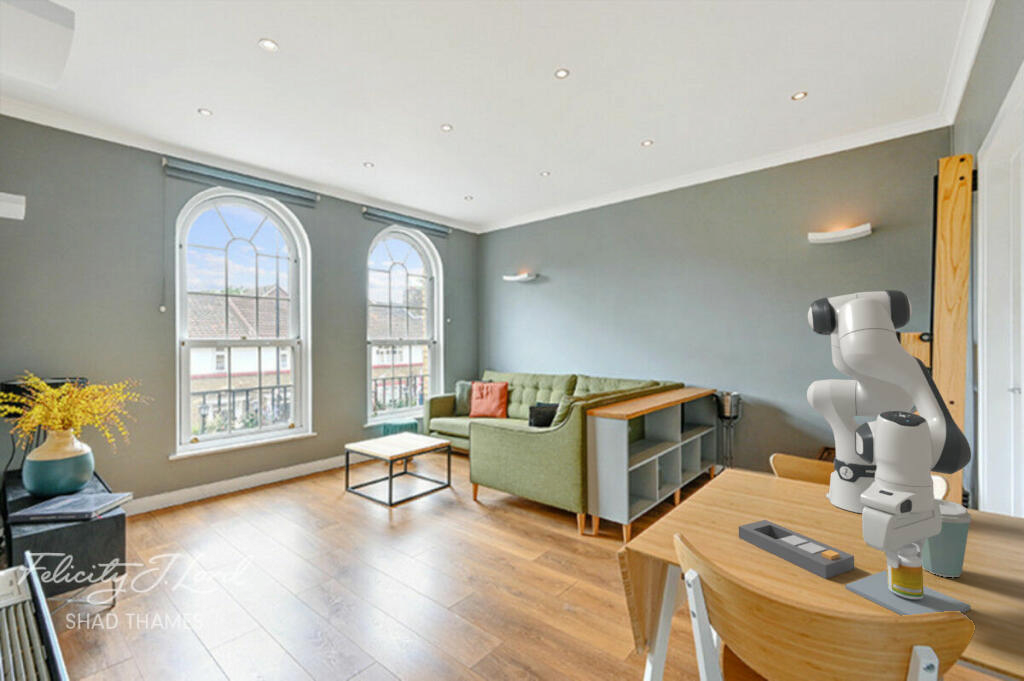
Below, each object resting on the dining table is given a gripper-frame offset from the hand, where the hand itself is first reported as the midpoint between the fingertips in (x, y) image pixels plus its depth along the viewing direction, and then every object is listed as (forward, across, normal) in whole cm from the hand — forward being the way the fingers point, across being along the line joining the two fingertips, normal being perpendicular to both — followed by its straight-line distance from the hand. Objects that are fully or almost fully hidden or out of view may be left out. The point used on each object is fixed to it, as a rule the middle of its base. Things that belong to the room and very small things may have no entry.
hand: (904, 562), depth 88 cm
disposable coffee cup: (+7, -19, -3) cm, 21 cm away
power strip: (+7, +2, -22) cm, 23 cm away
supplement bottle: (+6, 0, 0) cm, 6 cm away
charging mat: (+7, 0, 0) cm, 7 cm away
